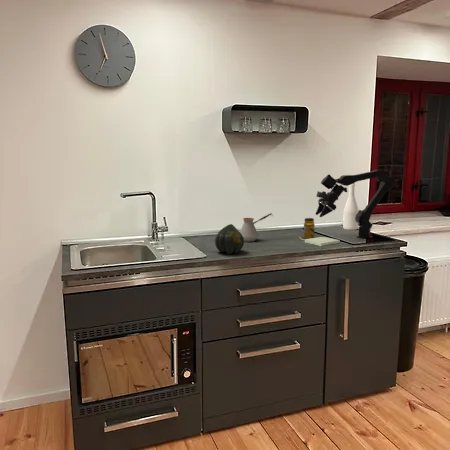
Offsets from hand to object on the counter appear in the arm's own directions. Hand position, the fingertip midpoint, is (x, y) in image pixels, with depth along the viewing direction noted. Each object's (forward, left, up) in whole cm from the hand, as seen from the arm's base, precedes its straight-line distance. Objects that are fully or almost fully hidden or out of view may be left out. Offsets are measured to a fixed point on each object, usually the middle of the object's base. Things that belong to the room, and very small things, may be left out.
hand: (318, 215), depth 254 cm
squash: (+61, 0, -14) cm, 62 cm away
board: (+6, +10, -14) cm, 18 cm away
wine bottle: (-40, -11, -14) cm, 43 cm away
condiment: (+5, -3, -14) cm, 15 cm away
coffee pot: (+31, -18, -14) cm, 38 cm away
